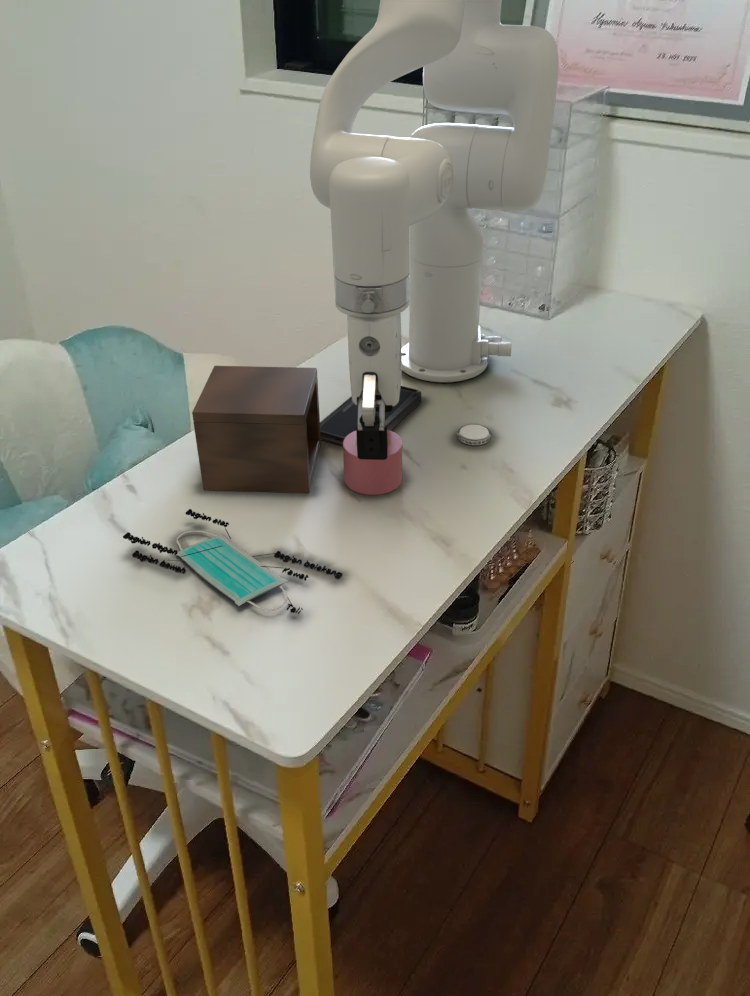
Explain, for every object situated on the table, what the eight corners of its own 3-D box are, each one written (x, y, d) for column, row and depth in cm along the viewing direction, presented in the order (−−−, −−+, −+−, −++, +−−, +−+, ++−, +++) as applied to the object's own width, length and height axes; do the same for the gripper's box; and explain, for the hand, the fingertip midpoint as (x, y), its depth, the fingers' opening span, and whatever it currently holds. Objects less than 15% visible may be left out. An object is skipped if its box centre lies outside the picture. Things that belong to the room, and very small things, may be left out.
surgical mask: (110, 535, 88) (173, 482, 95) (118, 569, 90) (179, 515, 98) (291, 597, 80) (345, 534, 87) (295, 632, 83) (347, 568, 90)
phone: (424, 391, 117) (367, 444, 107) (424, 399, 118) (367, 452, 107) (371, 378, 121) (311, 428, 110) (371, 385, 121) (311, 436, 111)
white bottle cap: (452, 440, 109) (452, 436, 109) (464, 425, 112) (464, 421, 112) (483, 447, 108) (484, 443, 108) (495, 432, 111) (495, 427, 111)
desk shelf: (321, 441, 110) (317, 367, 104) (309, 493, 101) (304, 415, 95) (223, 439, 111) (214, 365, 105) (203, 490, 102) (191, 412, 96)
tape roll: (403, 463, 106) (403, 427, 103) (400, 496, 100) (401, 458, 97) (347, 462, 106) (346, 425, 103) (341, 494, 101) (339, 456, 98)
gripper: (405, 328, 83) (406, 479, 94) (412, 256, 97) (412, 394, 107) (324, 327, 84) (334, 477, 94) (343, 255, 98) (349, 393, 108)
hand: (375, 433), depth 101 cm, fingers open, 9 cm apart
